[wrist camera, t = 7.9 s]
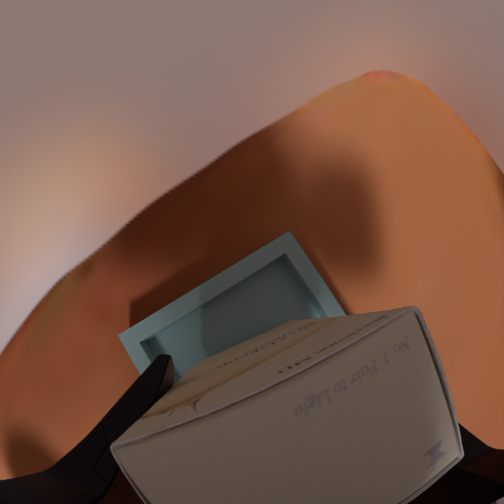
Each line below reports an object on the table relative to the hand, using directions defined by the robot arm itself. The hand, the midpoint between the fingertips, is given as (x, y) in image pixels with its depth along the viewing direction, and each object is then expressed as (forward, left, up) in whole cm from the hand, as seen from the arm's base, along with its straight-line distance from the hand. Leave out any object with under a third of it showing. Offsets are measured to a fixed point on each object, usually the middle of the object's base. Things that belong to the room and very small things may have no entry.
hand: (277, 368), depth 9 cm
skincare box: (-1, +1, -7) cm, 7 cm away
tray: (-1, +1, -8) cm, 8 cm away
